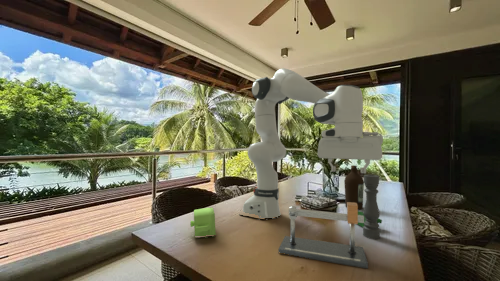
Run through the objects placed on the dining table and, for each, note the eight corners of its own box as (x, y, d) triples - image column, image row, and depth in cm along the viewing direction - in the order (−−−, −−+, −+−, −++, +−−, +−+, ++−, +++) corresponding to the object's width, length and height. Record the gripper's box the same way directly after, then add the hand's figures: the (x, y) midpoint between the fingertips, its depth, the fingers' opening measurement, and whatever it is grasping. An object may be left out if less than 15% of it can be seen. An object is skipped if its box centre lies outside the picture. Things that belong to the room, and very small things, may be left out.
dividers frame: (286, 244, 83) (286, 207, 84) (289, 237, 89) (289, 203, 89) (365, 256, 75) (365, 215, 75) (363, 248, 81) (363, 209, 81)
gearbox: (191, 227, 106) (190, 206, 106) (212, 224, 108) (211, 204, 108) (190, 243, 88) (189, 218, 88) (216, 239, 90) (215, 215, 91)
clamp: (375, 239, 102) (385, 223, 99) (364, 236, 101) (373, 220, 98) (362, 220, 113) (371, 205, 110) (351, 218, 113) (360, 203, 109)
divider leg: (347, 253, 76) (347, 204, 76) (347, 247, 80) (346, 201, 80) (357, 255, 75) (357, 205, 75) (356, 248, 79) (356, 202, 79)
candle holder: (360, 233, 98) (360, 174, 98) (373, 232, 98) (373, 174, 98) (368, 239, 92) (368, 176, 92) (383, 238, 92) (383, 176, 92)
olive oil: (341, 207, 137) (341, 165, 137) (348, 204, 144) (348, 164, 144) (359, 211, 129) (359, 167, 129) (366, 207, 136) (366, 165, 137)
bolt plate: (278, 253, 80) (278, 248, 80) (285, 239, 91) (285, 235, 91) (367, 268, 70) (367, 263, 70) (362, 251, 82) (362, 246, 82)
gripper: (380, 132, 78) (380, 172, 78) (318, 132, 85) (318, 169, 85) (385, 131, 72) (384, 175, 72) (317, 131, 79) (317, 171, 79)
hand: (348, 172), depth 78 cm, fingers open, 8 cm apart
